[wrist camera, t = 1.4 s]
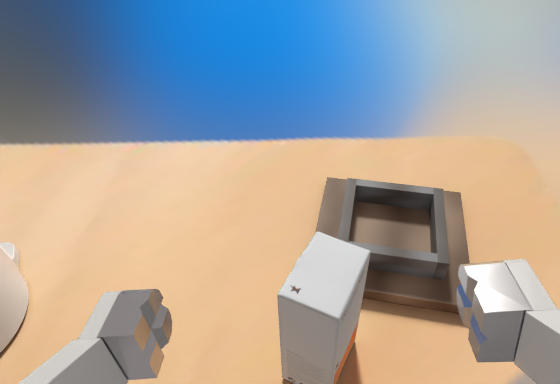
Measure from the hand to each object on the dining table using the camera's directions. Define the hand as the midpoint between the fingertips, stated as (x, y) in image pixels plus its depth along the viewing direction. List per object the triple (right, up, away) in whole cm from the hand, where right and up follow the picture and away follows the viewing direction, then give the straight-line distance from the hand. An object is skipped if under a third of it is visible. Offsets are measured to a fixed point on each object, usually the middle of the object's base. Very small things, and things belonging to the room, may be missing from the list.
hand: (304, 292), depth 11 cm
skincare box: (+3, -11, +24) cm, 26 cm away
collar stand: (+11, -2, +33) cm, 34 cm away
